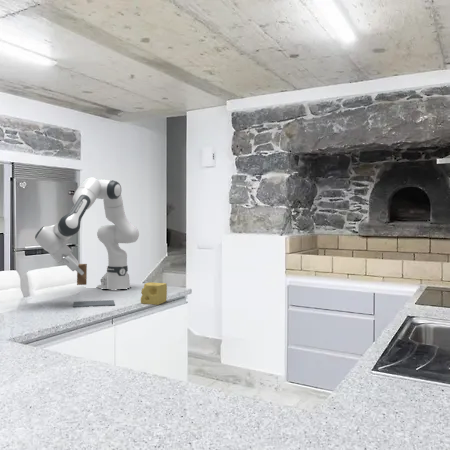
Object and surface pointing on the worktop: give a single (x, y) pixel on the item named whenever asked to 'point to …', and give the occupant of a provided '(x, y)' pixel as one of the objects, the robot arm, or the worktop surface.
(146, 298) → the cheese
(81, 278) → the walnut block
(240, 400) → the worktop surface
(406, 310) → the worktop surface
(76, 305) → the slate mat
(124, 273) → the robot arm
